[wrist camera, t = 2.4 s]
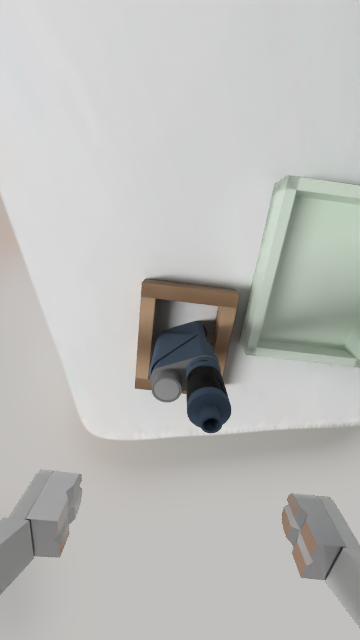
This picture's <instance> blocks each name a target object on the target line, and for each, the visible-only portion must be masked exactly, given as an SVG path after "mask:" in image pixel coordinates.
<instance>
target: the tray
mask: <svg viewBox="0 0 360 640" xmlns="http://www.w3.org/2000/svg"><path fill="white" fill-rule="evenodd" d="M239 343H240V345H241V347H242V349H243V351H244V353H245V354H246V355H255V356H264V357H272V358H281V359H290V360H299V361H308V362H317V363H325V364H334V365H343V366H352V367H360V185H353V184H346V183H339V182H332V181H325V180H317V179H310V178H303V177H296V176H287V177H285V178H284V179H282V180H280V181H279V182H277V183H275V186H274V190H273V195H272V199H271V203H270V208H269V212H268V217H267V221H266V226H265V230H264V234H263V239H262V243H261V248H260V252H259V257H258V261H257V265H256V270H255V274H254V279H253V283H252V288H251V292H250V296H249V301H248V305H247V310H246V314H245V319H244V323H243V327H242V332H241V336H240V341H239Z"/></svg>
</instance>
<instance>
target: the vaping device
mask: <svg viewBox="0 0 360 640" xmlns="http://www.w3.org/2000/svg"><path fill="white" fill-rule="evenodd" d="M206 337H207V332H206V328H205V326H204V325H203V324H202V322H201V321H195V322H191V323H188V324H185V325H181V326H178V327H174V328H171V329H167V330H165V331H163V332H162V333H161V334H160V335H159V336H158V338H157V341H156V345H155V349H154V353H153V357H152V361H151V365H150V369H149V378H150V382H151V386H152V393H153V395H154V397H155V398H156V399H158V400H159V401H162V402H172V401H175V400H176V399H178V398H179V396H180V395H181V393H182V392H185V391H187V414H188V417H189V419H190V421H191V422H192V423H193V424H195V425H196V426H198V427H200V428H202V430H203V431H205V432H207V433H215V432H217V431H219V430H220V429H221V427H222V425H223V424H224V423H225V422H226V421H227V420H228V419H229V417H230V414H231V405H230V402H229V399H228V397H227V396H228V395H227V392H226V388H225V385H224V382H223V378H222V375H221V368H220V365H219V360H218V357H217V354H216V353H215V351H214V350H213V348H212V347H211V346H210V345H209V344H208V341H207V339H206Z"/></svg>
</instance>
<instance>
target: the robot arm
mask: <svg viewBox="0 0 360 640" xmlns="http://www.w3.org/2000/svg"><path fill="white" fill-rule="evenodd" d="M81 477H82V476H81V474H76V473H67V472H59V471H50V470H40V471H39V472H38V473H37V474H36V475H35V477H34V478H33V480H32V481H31V483H30V484H29V486H28V488H27V489H26V491H25V492H24V494H23V495H22V497H21V499H20V500H19V502H18V503H17V505H16V507H15V508H14V510H13V511H12V513H11V514H10V516H9V518H3V519H1V520H0V595H1V594H2V592H3V591H4V590H5V589H6V588H7V587H8V586H9V585H10V584H11V583H12V582H13V581H14V579H15V578H16V577H17V576H18V575H19V574H20V573H21V572H22V571H23V569H25V567H26V566H27V565H28V564H29V563H30V562H31V561H32V560H33V559H34V556H40V557H60V556H61V553H62V551H63V548H64V545H65V543H66V541H67V538H68V535H69V524H70V523H71V522H72V521H73V520H74V519H75V518H76V514H77V512H78V509H79V506H80V502H81V497H82V488H81V487H80V483H81V481H82V478H81ZM287 501H288V503H289V504H288V505H287V506H285V507H284V509H283V512H282V524H283V528H284V531H285V534H286V537H287V539H288V540H289V541H290V542H291V543H292V545H293V551H292V554H293V557H294V560H295V563H296V565H297V568H298V571H299V574H300V576H301V578H310V579H318V580H326V581H325V583H326V584H327V585H328V587H329V588H330V589H331V591H332V592H333V593H334V595H335V596H336V597H337V599H338V600H339V601H340V603H341V604H342V605H343V607H344V608H345V609H346V611H347V612H348V613H349V615H350V616H351V617H352V618H353V620H354V621H355V622H356V623H357V625H358V626H359V628H360V545H359V543H358V541H357V539H356V538H355V536H354V534H353V533H352V531H351V529H350V528H349V526H348V524H347V523H346V521H345V519H344V518H343V516H342V514H341V513H340V511H339V509H338V508H337V506H336V504H335V503H334V501H333V500H332V499H331V498H330V497H325V496H315V495H303V494H290V495H289V496H288V498H287Z"/></svg>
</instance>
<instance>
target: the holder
mask: <svg viewBox="0 0 360 640" xmlns="http://www.w3.org/2000/svg"><path fill="white" fill-rule="evenodd" d="M239 295H240V294H239V293H238V292H237V291H235V290H234V289H225V288H217V287H209V286H201V285H193V284H184V283H176V282H168V281H160V280H152V279H145V280H144V281H143V282H142V290H141V305H140V320H139V334H138V349H137V364H136V379H135V388H136V389H145V390H152V386H151V382H150V378H149V369H150V365H151V360H152V349H153V338H154V327H155V316H156V305H157V299H164V300H172V301H181V302H189V303H197V304H206V305H214V306H218V311H217V316H216V322H215V327H214V333H213V338H212V344H211V347H212V348H213V350H214V351H215V353H216V354H217V357H218V360H219V365H220V368H221V375H222V376H223V371H224V367H225V362H226V357H227V352H228V348H229V343H230V338H231V333H232V329H233V324H234V319H235V314H236V310H237V305H238V300H239ZM182 393H183V394H187V391H185V392H182Z"/></svg>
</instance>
